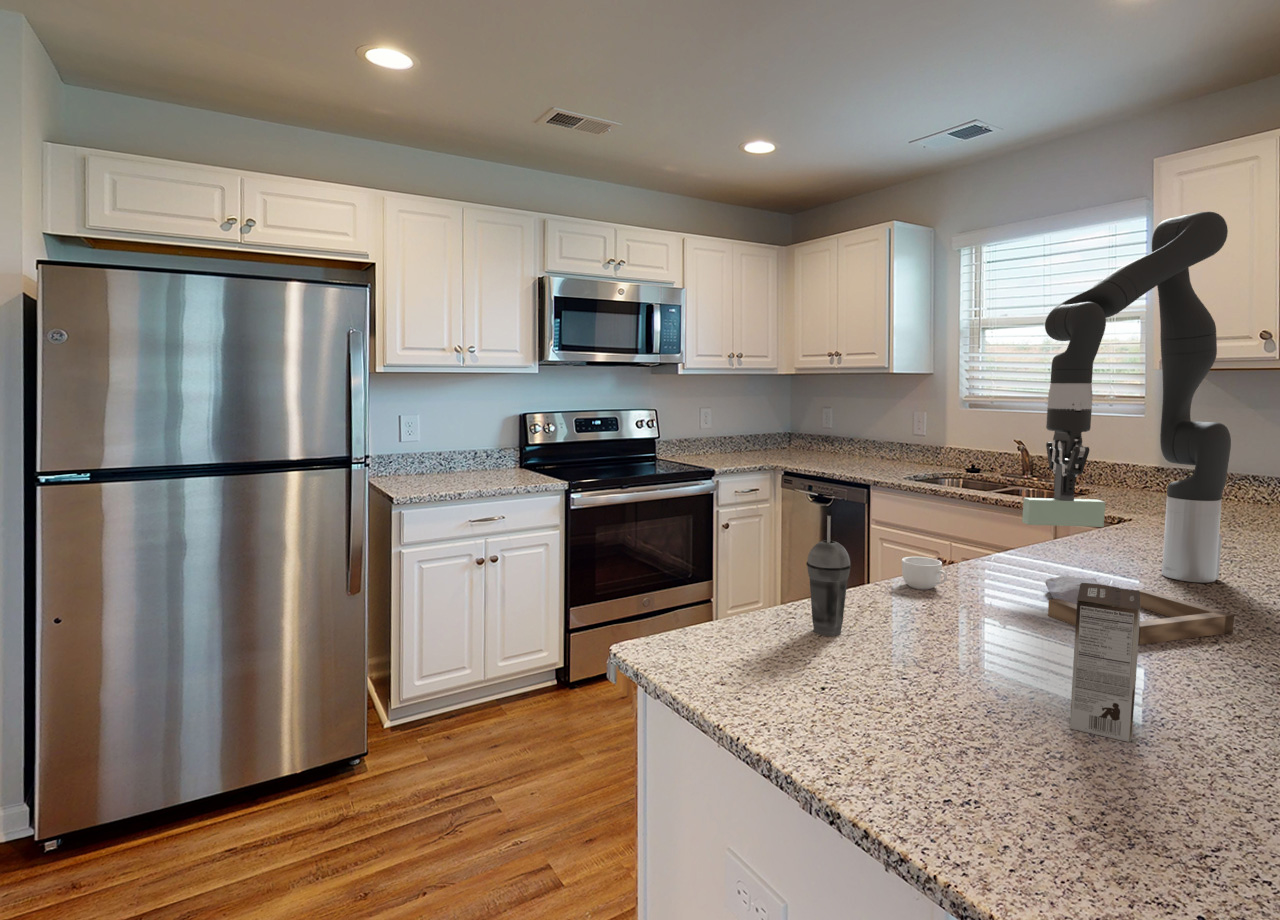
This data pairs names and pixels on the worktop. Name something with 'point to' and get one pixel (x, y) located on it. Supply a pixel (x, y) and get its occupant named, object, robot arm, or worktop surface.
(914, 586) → the teacup
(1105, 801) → the worktop surface
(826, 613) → the beverage cup
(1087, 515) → the board
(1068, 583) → the stone block
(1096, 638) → the coffee box
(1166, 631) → the wooden u-shaped frame
